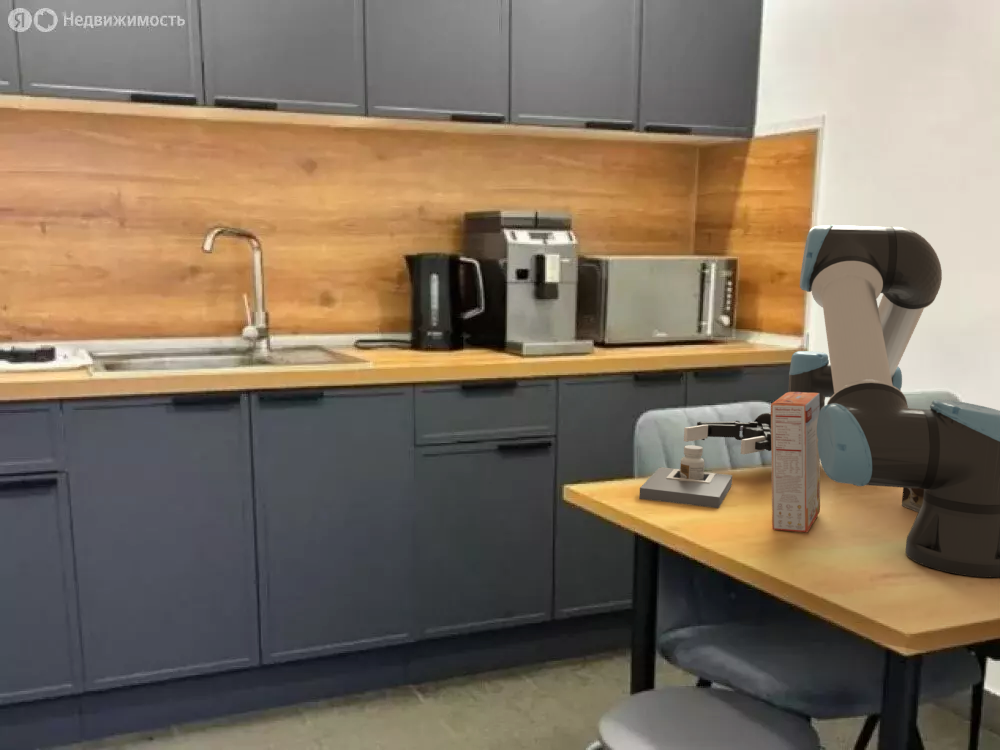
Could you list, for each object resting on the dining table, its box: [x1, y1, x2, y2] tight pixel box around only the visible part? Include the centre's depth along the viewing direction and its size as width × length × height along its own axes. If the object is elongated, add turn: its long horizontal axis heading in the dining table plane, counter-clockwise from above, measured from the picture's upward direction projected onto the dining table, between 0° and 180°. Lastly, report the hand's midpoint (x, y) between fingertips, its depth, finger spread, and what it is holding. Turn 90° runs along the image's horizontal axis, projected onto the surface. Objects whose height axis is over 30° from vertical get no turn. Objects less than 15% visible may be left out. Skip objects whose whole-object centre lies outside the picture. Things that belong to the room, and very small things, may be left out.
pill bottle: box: [679, 444, 705, 481], centre depth 178 cm, size 4×4×8 cm
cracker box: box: [770, 391, 821, 533], centre depth 155 cm, size 14×6×21 cm, turn 153°
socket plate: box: [638, 466, 733, 509], centre depth 175 cm, size 18×14×2 cm
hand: (713, 440), depth 182 cm, fingers open, 13 cm apart
